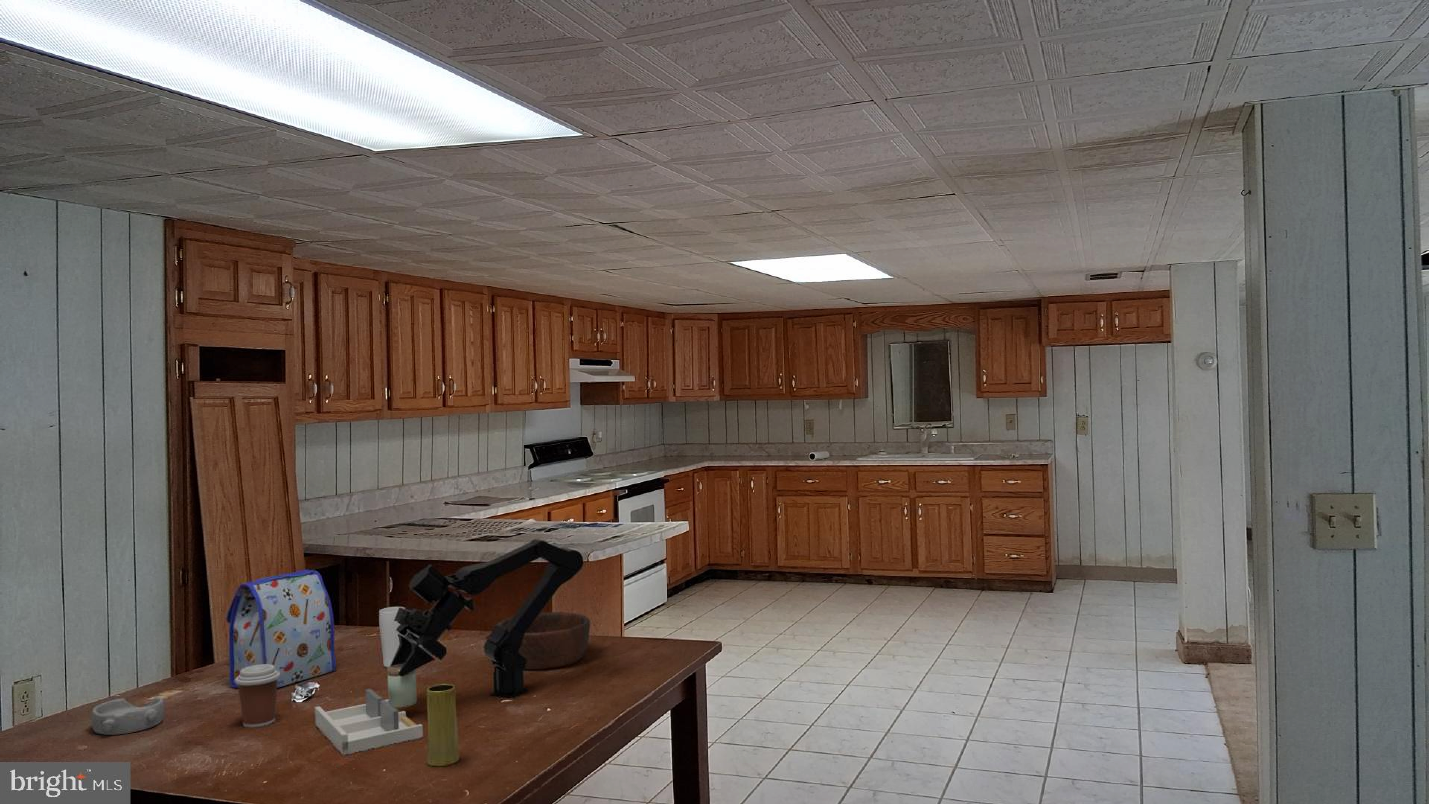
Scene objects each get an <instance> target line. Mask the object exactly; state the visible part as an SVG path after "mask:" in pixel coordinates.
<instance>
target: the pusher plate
mask: <svg viewBox="0 0 1429 804" xmlns="http://www.w3.org/2000/svg"><path fill="white" fill-rule="evenodd" d="M382 700H383V697H382V696H380V695H379V694H377V693H376V692H375V691H374V690H373V689H371V688H368V689H367V688H365V704H366V714H367V715H368V716H370V717H371V718H374V717H379V716H381V713H380V701H382Z"/></svg>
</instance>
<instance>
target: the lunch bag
mask: <svg viewBox="0 0 1429 804" xmlns="http://www.w3.org/2000/svg"><path fill="white" fill-rule="evenodd" d="M225 618H226V622H227V623H228V624H229V628H228V630H229V631H228V654H229V655H228V656H229V657H228V666H229V682H228V683H229V684H230V686H231V687H233V688H238V689H239V686H238V685H237V684H236V683H235V679H236V677H238V676H239V674H240V671H241V670H242V669H243V668H245V667H249V666H253V665H261V664H270V665H274V666H275V670H277V671H278V672H280V678H279V679H277V689H278V688H281V687H285V686H287V685H292V684H294V683H297V682H302V681H305V680H308V679H311V678H315V677H318V676H321V675H324V674H328V673H331V672H335V671H336V670H337V663H336V661H337V660H336V654H335V622H334V612H333V607H332V602H331V598H330V596H329V593H328V591H327V588H326V586H325V584H324V580H323V577H322V575H321V573H320V572H319V571H317V570H313V569H312V570H309V569H304V570H303V569H302V570H299V571H294V572H290V573H283V574H281V575H280V574H279V575H275V576H267V577H261V578H259V579H256V580H254V581H253V580H252V581H249V582H246V583H240V585H239V587H238V588H237V591H236V592H235V594H234V597H233V599H232V601H231V603H230V606H229V608H228V610H227V614H226V617H225Z"/></svg>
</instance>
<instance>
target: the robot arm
mask: <svg viewBox="0 0 1429 804" xmlns="http://www.w3.org/2000/svg"><path fill="white" fill-rule="evenodd" d="M537 559H542V560H544V561H547V564H546V567H545V571H544V575H543V576H542V578H541V579H540V581H539V582H538V583H537V584H536V586H534V589H532V591H531V592H530V594H529V595H528V596H527V597H526V599H525V600H524V601H523V603H522V604H521V606H520V607H519V608H518V609H517V611H516V612H515V613H514V615H513V616H512V617H513V618H512V617H511V618H512V619H511V620H510V621H509V623H507V624H506V625H504V626H503V627H501V626H499V625H497V624H495V626H494V627H493V629H492V630H491V632H490V634H488V635H487V636H485V637H484V638H485V640H486V641H485V642H484V645H483V653H484V655H485V657H486V658H488V659H489V660H490V661H491V664H492V665H493V666H494V667H493V674H492V675H493V676H492V677H493V680H492V681H493V691H490V695H491V696H497V697H498V696H499V697H505V698H513V697H516V696H518V695H520V694H522V693H524V692H527V691H528V690H529V687H525V684H524V683H525V681H524V670H526V669H525V666H526V662H527V659H525V658H524V657H523V656H522V655H521V654H519V653H518V652H519V650H520V648H521V645H522V641H523V637H524V634H525V633H526V631H527V630H528V629H529V627H530V626H531V624H532V623H533V622H534V620H535V619H536V618H537V616H538V615H539V614H540V613H542V611H543V610H544V609H545V607H546V606H547V605H548V604H549V602H550V600H551V599H552V597H553V596H554V595H555V594H556V592H557V591H558V590H559V589H560V587H561V586H562V585H564V584H565V583H567V582H569V581H570V580H572V579H573V578H574V577H575V576H576V575H577V574H578V573H579V572H580V571H581V570H582V568H583V566H584V558H583V555H582V553H581V552H580V551H578V550H575V549H572V548H568V547H558V546H555V545H553V544H550V543H548V542H547V541H546V540H543V539H539V538H538V539H537V538H536V539H535V538H534V539H532V540H530V542H528V543H526V544H524V545H522V546H519V547H517V548H515V549H513V550H511V551H509V552H507V553H504V554H502V555H499V556H497V557H496V558H494V559H492V560H490V561H486V562H481V563H475V564H470V565H468V566H464V567H461V568H459V569H458V570H457V571H456V572H455V573H453V574H449V575H446V576H444V575H443V574H442V573H441V572H439V571H438V569H437V568H436V567H435V566H434V565H432V564H428V565H427V566H426V567H424V568H423V569H421V570H420V571H418V573H416V574H415V575H413V577H412V578H411V579H410V582H409V584H408V588H409V589H410V590H411V591H412V592H414V593H415V594H416V595H418V596H419V597H420V598H421V599H423V600H424V601H425V602H426V603H432V602H433V603H434V604H433V605H432V606H431V608H430V609H424V611H422V610H420V609H417V608H412V609H411V610H410V609H406V608H405V607H404V608H405V609H404V608H400V607H401V606H398V607H399V609H398V612H397V614H396V617H395V619H394V621H397V622H398V623H399V624H400V625H399V627H398V628H397V629H396V631H398V632H399V633H400V634H401V635H400V634H398V637H399V643H400V644H399V647H398V650H397V652H396V654H395V656H394V658H393V661H392V663H391V665H390V666H393V665H397V664H404V665H403V666H402V668H401V669H400V671H399V673H398V674H399V675H400V676H401V677H403V676H404V675H406V674H408V673H410V672H412V671H413V670H415V669H416V670H417V669H418V668H421V667H422V666H425V665H427V664H428V663H431V662H434V661H436V659H437V660H439V661H442V660H443V659H444V658H445V656H446V655H447V647H446V646H445V645H444V644H442V643H441V642H440V641H439V639H440V638H441V637H442V636H443V635H444V633H445V632H446V631H448V632H450V631H451V629H452V628H453V627H452V626H450V625H451V624H453V622H454V621H455V620H456V618H457V617H458V616H459V615H460V613H461V612H462V611H463V610H464V609H466V610H468V611H471V612H473V611H474V599H473V598H472V597H466V596H464V595H463V594H462V593H461V592H463V593H465V594H466V595H467V594H468V595H471V596H476V595H479V594H481V593H482V592H484V591H485V590H486V589H488V588H489V587H491V585H492V584H494V582H495V581H496V580H497V579H499V578H501V577H502V576H505V575H506V574H509V573H511V572H513V571H515V570H517V569H519V568H521V567H523V566H525V565H527V564H530V563H531V562H533V561H536V560H537ZM448 587H449V588H452V589H455V590H456V591H454V592H453V591H452V590H450V589H449V588H448ZM434 657H435V658H434Z"/></svg>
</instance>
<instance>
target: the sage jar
mask: <svg viewBox="0 0 1429 804" xmlns="http://www.w3.org/2000/svg"><path fill="white" fill-rule="evenodd" d="M403 665H404V664H397V665H393V666H390V667H388V668H387V667H386V668H387V669H386V672H387V699H388V701H389V704H390V705H391V706H393V707H395V708H405V707H410V706H412V705H415V704H416V703H417V702H418V700H417V699H418V697H417V671H416V670H417V669H415V670H413V671H412V672H410V673H408V674H406V675H404V676H403V677H401V676H400V675H399V674H398V673H399V671H400V669H401V668H402V666H403Z"/></svg>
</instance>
